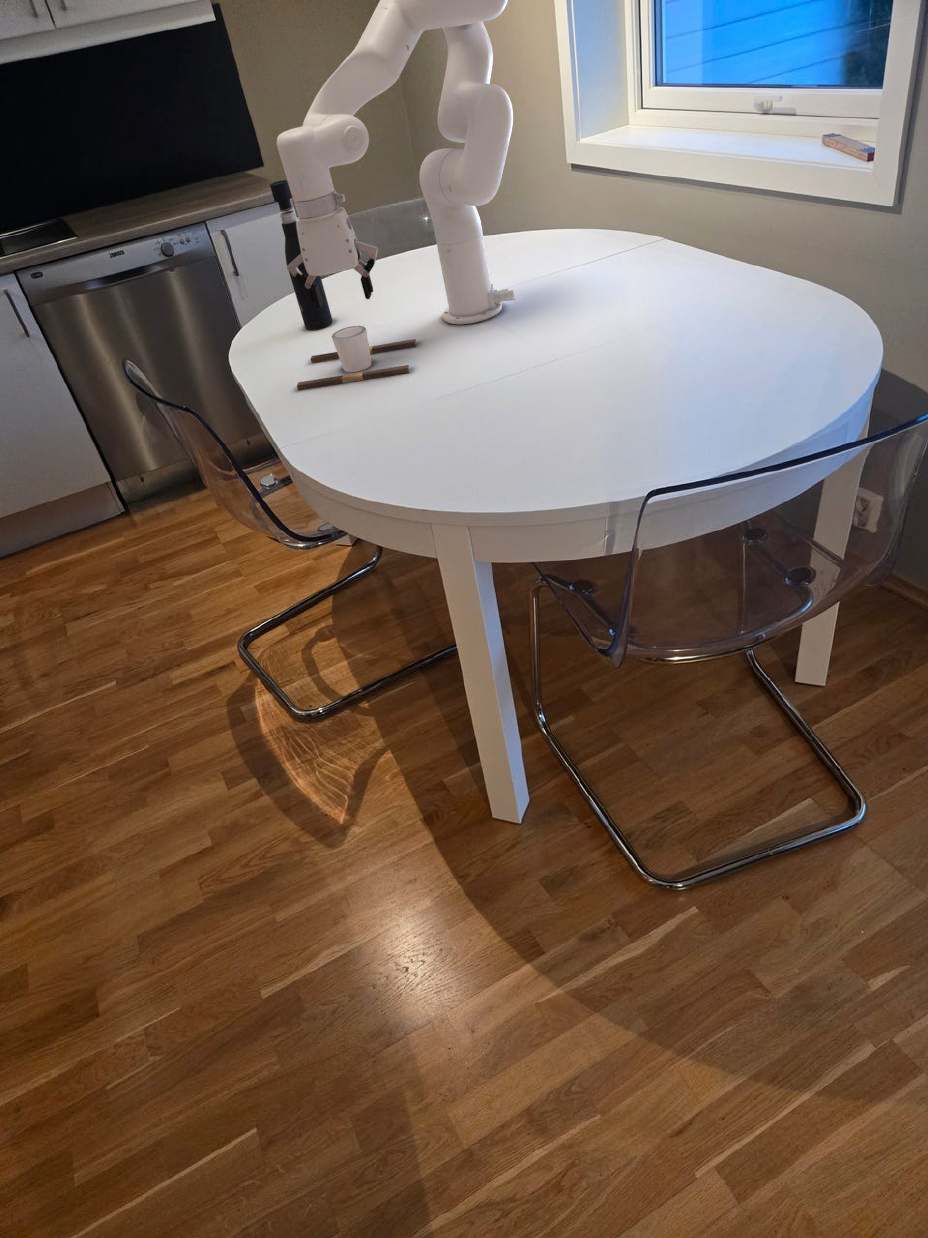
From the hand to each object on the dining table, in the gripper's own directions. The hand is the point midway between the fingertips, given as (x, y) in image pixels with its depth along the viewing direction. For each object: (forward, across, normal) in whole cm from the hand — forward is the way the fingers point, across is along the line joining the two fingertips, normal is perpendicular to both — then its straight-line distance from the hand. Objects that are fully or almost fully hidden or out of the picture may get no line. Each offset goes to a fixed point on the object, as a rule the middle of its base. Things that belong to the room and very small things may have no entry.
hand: (344, 301), depth 166 cm
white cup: (+13, +1, +1) cm, 13 cm away
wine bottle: (+13, +15, -29) cm, 35 cm away
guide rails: (+13, +1, +1) cm, 13 cm away
